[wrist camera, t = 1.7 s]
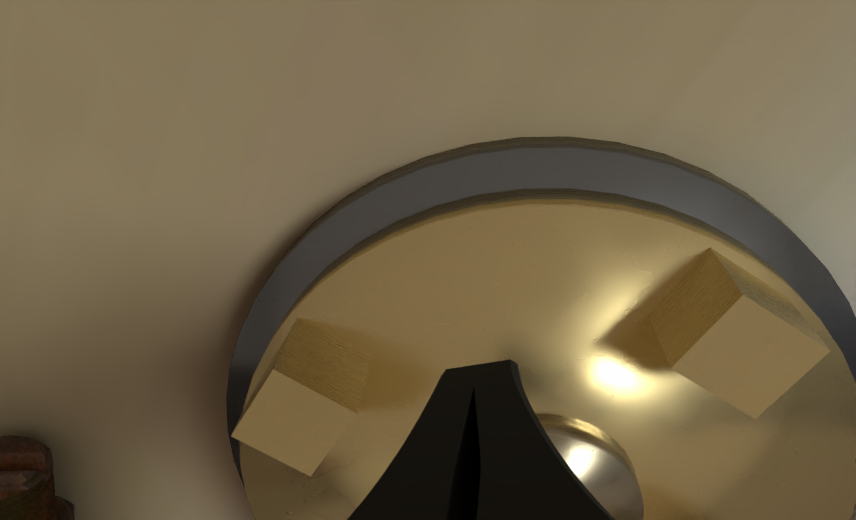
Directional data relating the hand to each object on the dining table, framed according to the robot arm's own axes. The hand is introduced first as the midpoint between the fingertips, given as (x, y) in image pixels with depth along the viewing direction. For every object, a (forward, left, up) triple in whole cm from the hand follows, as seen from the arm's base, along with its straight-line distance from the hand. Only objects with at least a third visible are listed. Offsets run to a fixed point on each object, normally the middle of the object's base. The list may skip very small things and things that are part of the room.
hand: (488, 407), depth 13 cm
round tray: (0, +8, -7) cm, 11 cm away
